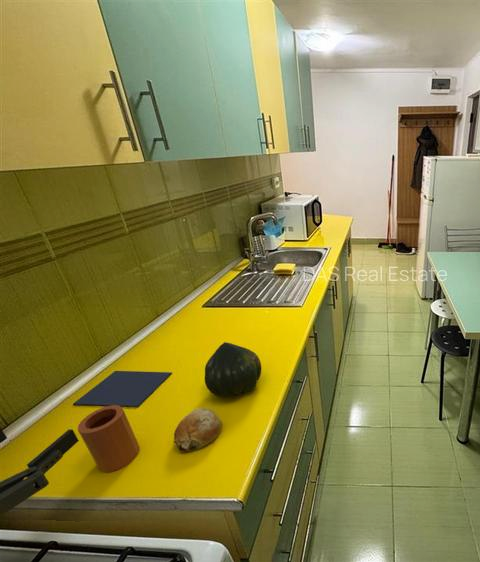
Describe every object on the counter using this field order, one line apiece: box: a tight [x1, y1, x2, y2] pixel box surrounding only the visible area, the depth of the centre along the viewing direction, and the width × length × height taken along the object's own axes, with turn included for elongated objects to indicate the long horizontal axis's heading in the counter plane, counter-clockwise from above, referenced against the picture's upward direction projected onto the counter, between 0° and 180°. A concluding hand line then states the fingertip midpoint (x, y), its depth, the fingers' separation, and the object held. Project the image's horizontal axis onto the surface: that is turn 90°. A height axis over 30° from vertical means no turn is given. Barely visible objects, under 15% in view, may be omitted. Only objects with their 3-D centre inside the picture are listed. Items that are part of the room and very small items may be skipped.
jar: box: [77, 405, 141, 474], centre depth 67 cm, size 7×7×12 cm
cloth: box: [72, 370, 173, 408], centre depth 90 cm, size 19×14×1 cm
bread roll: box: [173, 407, 223, 452], centre depth 74 cm, size 10×10×8 cm
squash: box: [204, 341, 262, 398], centre depth 88 cm, size 14×15×15 cm
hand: (37, 433), depth 53 cm, fingers open, 13 cm apart
